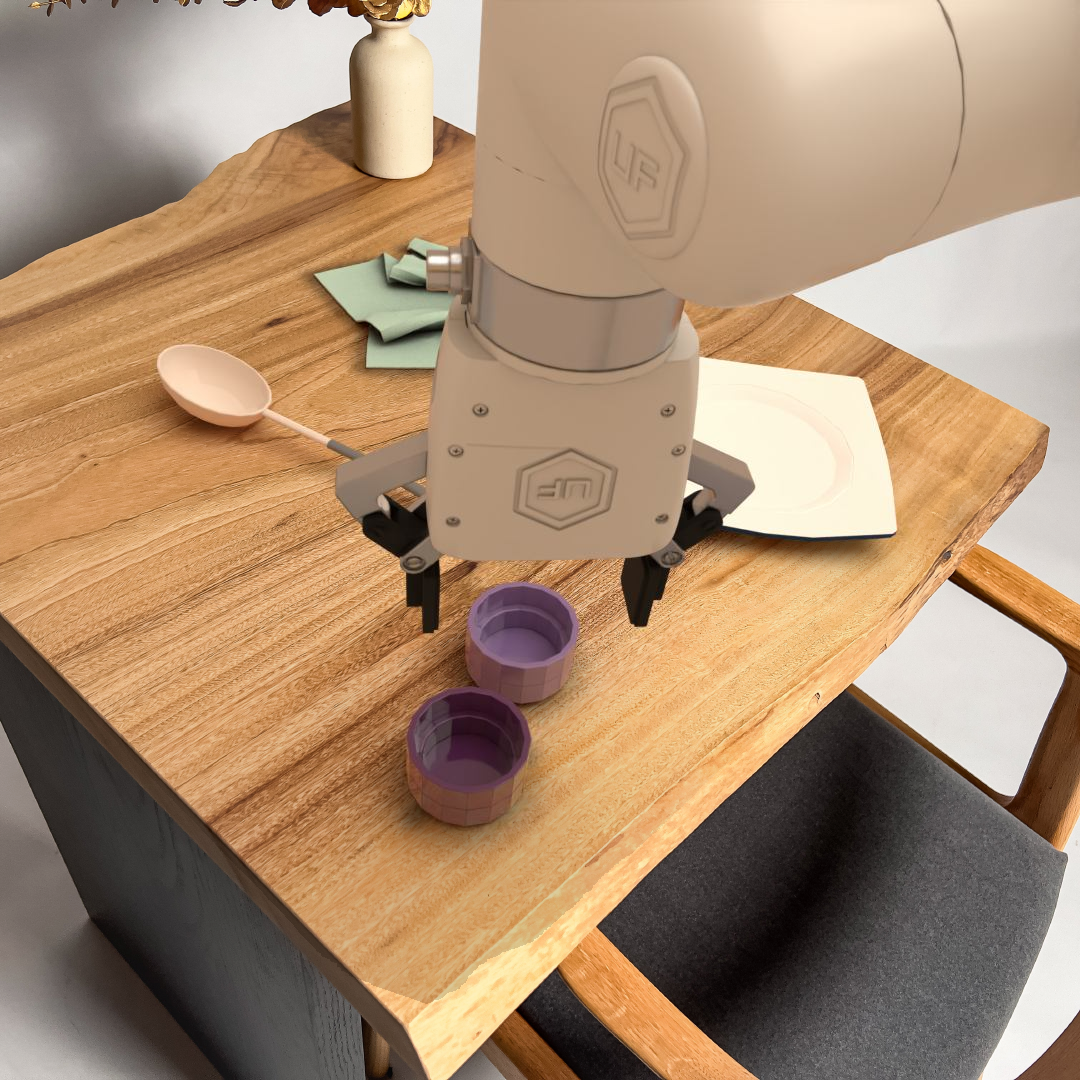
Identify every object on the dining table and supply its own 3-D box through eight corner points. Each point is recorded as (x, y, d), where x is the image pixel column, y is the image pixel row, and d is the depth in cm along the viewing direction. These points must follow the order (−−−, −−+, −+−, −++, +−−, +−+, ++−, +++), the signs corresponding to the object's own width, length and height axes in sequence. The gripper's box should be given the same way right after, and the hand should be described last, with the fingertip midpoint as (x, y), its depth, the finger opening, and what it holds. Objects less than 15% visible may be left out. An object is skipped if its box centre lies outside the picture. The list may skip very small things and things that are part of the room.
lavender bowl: (591, 678, 62) (600, 638, 59) (503, 725, 59) (508, 685, 56) (531, 608, 65) (536, 567, 62) (445, 649, 62) (447, 608, 59)
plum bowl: (547, 792, 56) (554, 754, 53) (446, 851, 53) (449, 814, 50) (483, 709, 59) (487, 668, 57) (385, 760, 56) (384, 720, 54)
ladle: (193, 362, 79) (193, 313, 75) (491, 546, 74) (506, 504, 71) (135, 399, 75) (133, 349, 71) (448, 596, 70) (461, 554, 67)
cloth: (554, 383, 83) (558, 359, 81) (288, 362, 81) (285, 337, 79) (552, 256, 97) (555, 233, 95) (325, 236, 95) (324, 212, 94)
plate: (626, 365, 85) (631, 339, 83) (862, 398, 85) (872, 372, 83) (616, 532, 71) (622, 505, 69) (899, 571, 71) (913, 545, 69)
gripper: (316, 347, 30) (342, 679, 43) (848, 353, 33) (729, 664, 45) (324, 224, 36) (345, 552, 48) (784, 237, 38) (693, 545, 50)
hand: (532, 606), depth 47 cm, fingers open, 9 cm apart
